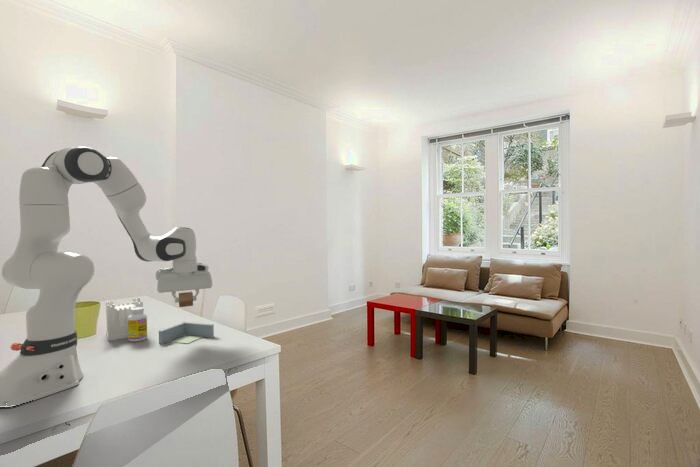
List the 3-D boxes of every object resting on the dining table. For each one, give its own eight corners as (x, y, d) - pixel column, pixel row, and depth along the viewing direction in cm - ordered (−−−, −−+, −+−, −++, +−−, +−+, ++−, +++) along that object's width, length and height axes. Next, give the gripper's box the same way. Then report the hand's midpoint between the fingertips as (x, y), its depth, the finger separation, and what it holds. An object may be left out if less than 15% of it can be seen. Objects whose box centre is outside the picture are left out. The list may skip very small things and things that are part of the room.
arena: (189, 347, 136) (189, 334, 136) (158, 343, 141) (158, 330, 141) (213, 336, 149) (213, 324, 149) (184, 333, 154) (184, 321, 154)
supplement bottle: (138, 342, 142) (137, 310, 142) (124, 341, 144) (123, 310, 143) (151, 337, 149) (150, 306, 148) (137, 336, 150) (136, 306, 150)
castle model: (107, 341, 145) (106, 305, 145) (106, 332, 157) (105, 299, 157) (144, 334, 153) (143, 301, 152) (140, 326, 165) (139, 295, 164)
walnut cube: (193, 305, 144) (192, 293, 143) (179, 307, 141) (179, 294, 141) (192, 303, 148) (192, 291, 148) (178, 304, 146) (178, 292, 146)
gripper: (155, 270, 137) (156, 306, 137) (212, 266, 146) (213, 299, 146) (155, 268, 142) (156, 302, 143) (210, 264, 151) (211, 297, 152)
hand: (185, 301), depth 145 cm, fingers closed on walnut cube, 5 cm apart
